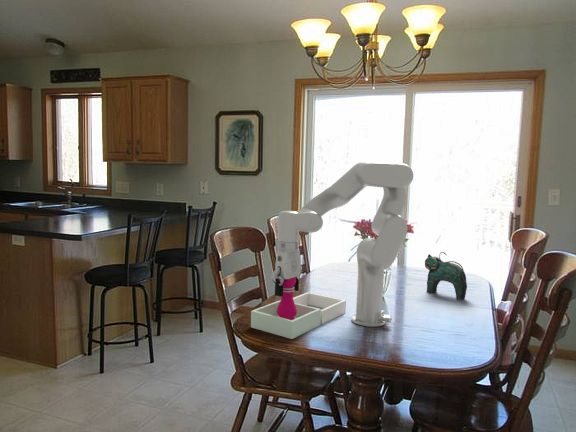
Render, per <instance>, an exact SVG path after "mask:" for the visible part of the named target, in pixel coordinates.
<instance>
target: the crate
mask: <svg viewBox="0 0 576 432" xmlns="http://www.w3.org/2000/svg"><path fill="white" fill-rule="evenodd" d="M293 300H294V303H297V304H301V305H306V306H310V307H315V308H319V309H321V323H320V325H323V324H325V323H328V322H330V321H332V320H334V319H335V318H337V317H340V316H341V315H343V314H345V313H346V309H347V308H346V307H347V306H346V305H347V300H346V299H342V298H337V297H333V296H328V295H327V296H326V295H323V294H319V293H318V294H317V293H314V292H309V291H307V292H305V293H302V294H299V295H297V296H293Z"/></svg>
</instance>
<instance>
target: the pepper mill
mask: <svg viewBox="0 0 576 432" xmlns="http://www.w3.org/2000/svg"><path fill="white" fill-rule="evenodd" d="M280 280H281V279H279V281H280ZM295 283H296V277H294V278H291V279H287V280H286V279H284V281H283V284H282V285H283V296H282V297H281V298H280V300H281V301H280V303H279V305H278V308H277V314H278V316H279V317H281V318H285V319H288V320H294V319H295V318H294V317H295V316H296V314H297V309H296V305H295V303H294V300H293V298H294V292H295V291H294V288H295V287H294V285H295Z"/></svg>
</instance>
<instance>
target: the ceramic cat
mask: <svg viewBox="0 0 576 432" xmlns="http://www.w3.org/2000/svg"><path fill="white" fill-rule="evenodd" d="M442 254H444V255H445V256H447V253H446V252H444V251H441V252H440V253H439V257H437V256H432V255H431V254H430V253H429V254H428V255H427V258H425V259H424V267H425V268H426V269H427V270H428V274H427V280H426V292H427V293H428V294H429V293H430V294H435V293H437V291H438V285H439V284H440V283H441V282H448V283H450V284H452V285H453V288H454V291H455V299H456V300H458V299H459V300H458V301H464V300H465V299H466V294H467V290H468V289H467V288H468V283H467V276H466V273H465V270H464V267H463V266H462V265H461V264H460V263H459V262H457V261H452V260H449V261H443V260H442V259H441V255H442ZM463 299H464V300H463Z"/></svg>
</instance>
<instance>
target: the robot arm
mask: <svg viewBox="0 0 576 432" xmlns="http://www.w3.org/2000/svg"><path fill="white" fill-rule="evenodd" d="M413 180H414V171H413V169H412V168H411V167H410V166H409V165H408V164H406V163H391V162H389V163H388V162H375V161H360V162H357V163H356V164H354V165H353V166H352V167H351V168H350V169H349V170H347V172H345V173H344V174H343V175H342V176H341V177H340V178H339V179H338V180H336V181H335V182H334V183H332V184H331V186H329V187H328V188H326V189H324V190H323V191H321V192H320V193H318V194H317V195H315V196H314V197H313V198H312V199H310V200H309V201H308V202H306V204H305V205H303V207H301V208H300V209H299V210H298V211H295V210H281V211H279V212H278V215H277V220H278V221H277V251H276V256H275V257H276V258H275V263H274V264H275V266H274V267H275V268H274V269H275V270H274V271H273V272H272V273H271V274H270V275H271V279H272V282H273V285H274V296H277V297H281V298H282V296H283V285H282V284H283V281H284V279H286V280H287V279H291V278H294V277H296V283H295V285H294V287H295V288H294V291H293V292H299V290H300V287H299V286H300V283H299V282H300V279H301V275H302V270H303V266H302V264H301V263H302V260H301V251H300V245H299V244H300V243H299V242H300V232H301V233H302V232H305V233H317V232H318V231H320V230H321V228H322V227H323V225H324V220H323V218H322V216H324V215H326V214H327V213H328V212H330V211H332V210H334V209H337V208H340V207H343V206H345V205H348V203H349V202H350V201H352V200H353V199H354V198H355V197H356V196H357V195H359V193H360V192H362V191H363V190H364V189H365V188H366V187H373V188H382V189H383V196H382V199H381V201H380V204H379V205H378V208H377V211H376V213H375V215H374V217H373V220H372V222H371V230H372V232H373V233H374V234H375V235H376V236H377V238H373V237H367V238H364V239H362V240H361V241H360V242H359V243H358V245H357V248H356V261H357V282H356V284H357V287H356V305H355V306H356V308H355V314H354V315H352V316H351V321H352V322H353V324H356V325H359V326H363V327H371V328H375V327H381V326H382V327H383V326H384V325H385V324H386V323H390V324H391V323H392V316H391V315H388V314H385V310H383V299H384V298H383V297H384V296H383V294H384V278H385V274H384V270H385V269H387V268H390V267H391V266H392V265H393V263H394V262H395V261H396V258H397V256H398V254H399V252H400V250H401V248H402V245H403V244H404V241H405V240H406V237H407V234H408V222H407V220H406V219H405V218H404V217H403V216H402V214H403V211H404V209H405V205H407V204H406V202H407V198H408V197H407V196H408V195H407V189H406V187H408V186H409V185H411V184H412V182H413ZM279 279H281V280H280V281H279Z"/></svg>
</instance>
